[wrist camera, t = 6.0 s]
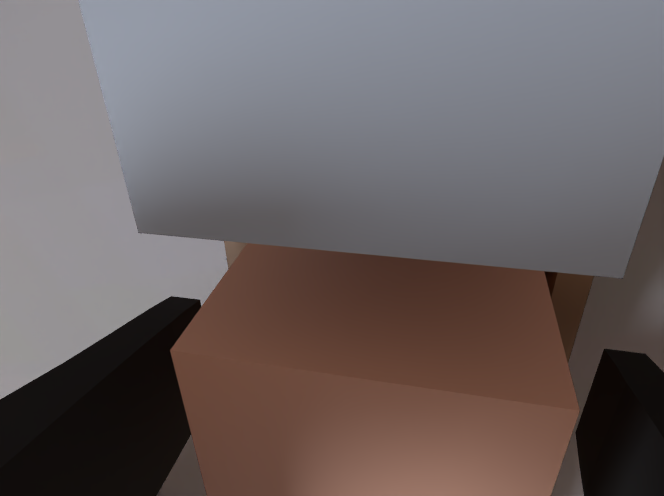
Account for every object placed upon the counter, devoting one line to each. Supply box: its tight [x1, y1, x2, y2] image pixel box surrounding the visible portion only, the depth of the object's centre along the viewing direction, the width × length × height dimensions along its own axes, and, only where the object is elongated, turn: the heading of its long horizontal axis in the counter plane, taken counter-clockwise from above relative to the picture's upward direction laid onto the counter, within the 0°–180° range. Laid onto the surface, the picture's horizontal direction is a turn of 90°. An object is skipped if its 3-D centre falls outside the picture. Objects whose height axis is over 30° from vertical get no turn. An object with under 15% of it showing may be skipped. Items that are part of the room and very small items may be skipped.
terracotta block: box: [170, 243, 580, 496], centre depth 9 cm, size 4×4×6 cm
